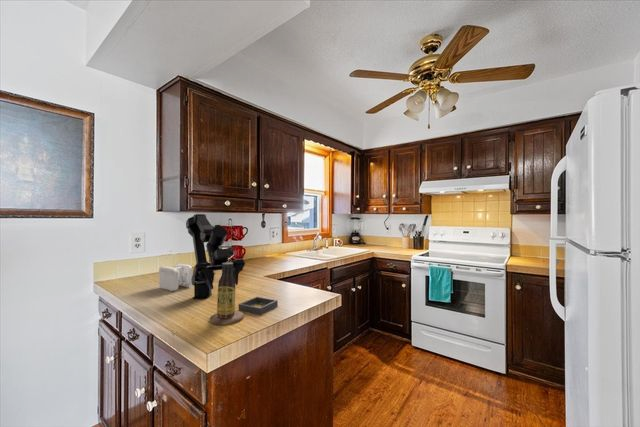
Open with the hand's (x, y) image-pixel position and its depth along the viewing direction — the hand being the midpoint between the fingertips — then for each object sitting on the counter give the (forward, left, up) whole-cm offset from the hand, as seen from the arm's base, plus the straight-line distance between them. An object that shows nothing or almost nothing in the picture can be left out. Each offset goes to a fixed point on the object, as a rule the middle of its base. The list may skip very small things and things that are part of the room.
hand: (225, 286), depth 104 cm
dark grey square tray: (+11, +9, -12) cm, 18 cm away
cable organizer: (-39, +40, -12) cm, 57 cm away
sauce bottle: (+1, -1, -11) cm, 11 cm away
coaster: (+1, -1, -12) cm, 12 cm away
